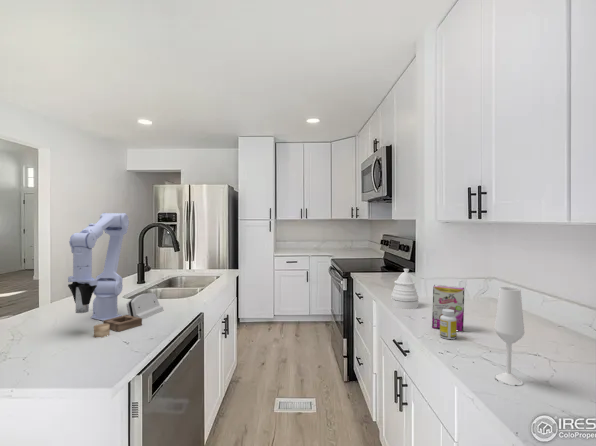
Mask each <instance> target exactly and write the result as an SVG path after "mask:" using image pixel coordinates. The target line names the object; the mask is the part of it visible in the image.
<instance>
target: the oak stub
mask: <svg viewBox="0 0 596 446" xmlns="http://www.w3.org/2000/svg"><path fill="white" fill-rule="evenodd" d="M110 331H111V330H110V324H103V323H99V324H98V323H97V324H96V325H93V338H96V337H101V338H104V336H106V337H108V336H110ZM107 335H108V336H107Z"/></svg>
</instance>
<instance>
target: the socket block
mask: <svg viewBox="0 0 596 446" xmlns="http://www.w3.org/2000/svg"><path fill="white" fill-rule="evenodd" d="M102 324H110V331H111V330H112V331H115V332H118V333H120V332H123V331H126V330H130V329H133V328H137V327H139V326H140V327H141V326H142V325H143V320H142V318H138V317H134V316H129V315H128V314H124V315H122V316H120V317H116V318H112V319H108V320H104V321H102Z"/></svg>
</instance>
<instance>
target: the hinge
mask: <svg viewBox="0 0 596 446" xmlns="http://www.w3.org/2000/svg"><path fill="white" fill-rule="evenodd" d="M126 309H127V313H128V314H127V315H129V316H134V317H138V318H142V321H143V320H145V319H147V318H149V317H152V316H154V315H156V314H159V313H161V312H163V311H164V307H163V306H162V305H161V304H160V302H159V299H158V297H157V295H156V294H155V293H150V292H149V293H141V294H138V295H135V296H134V297H133V298H131V299H130V300H129V301H127V303H126Z"/></svg>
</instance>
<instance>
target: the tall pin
mask: <svg viewBox="0 0 596 446" xmlns="http://www.w3.org/2000/svg"><path fill="white" fill-rule="evenodd" d="M89 305H90V303H89V304H87V305H83V304H82V298H81V293H80V290H79V288H78V287H76V303H75V314H84V313H88V312H89V311H90V309H89V308H90V307H89Z"/></svg>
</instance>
